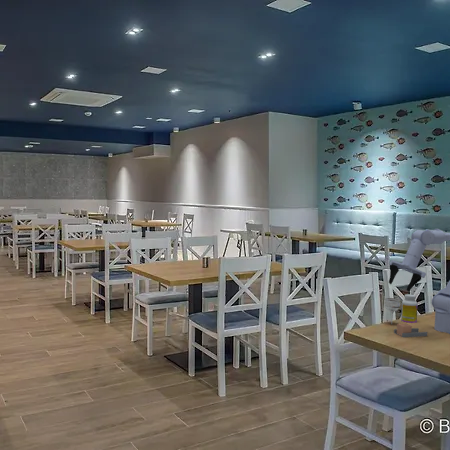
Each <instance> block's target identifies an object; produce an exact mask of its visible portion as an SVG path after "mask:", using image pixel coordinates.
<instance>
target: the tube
mask: <svg viewBox="0 0 450 450" xmlns="http://www.w3.org/2000/svg"><path fill="white" fill-rule="evenodd" d="M419 330H420V328H418V327H417V328H415V327H413V328H412V329H411V333H402V336H401V335H399V334H397V328H394V329H393V334H395V335H398V336H400V337H401V338H415V337H416V338H417V337H428V331H422V332H421V331H419Z"/></svg>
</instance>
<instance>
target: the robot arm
mask: <svg viewBox="0 0 450 450" xmlns="http://www.w3.org/2000/svg"><path fill="white" fill-rule="evenodd" d="M410 238H411V239H410V245H409V247H408V249H407V251H406V253H405V255H404V258H403V260H402V262H399V261H396V260H392V259H391V260H390V262H389V267H390V269H389V271H390V273H389V278H388V279H389V280H388V284H389V285H392V283H393V282H394V279H395V278H396V276H397V274H398V272H399V270H402V271H405V272H408V273H410V274H412V277H411V279H410V281H409V283H408V285H407V288H406V291H407V292H410V291H411V289H413V288H414V287H415V285H417V283H420V281H422V279H424V278H425V277H426V275H427V273H426V272H425V271H422V270H419V269H417V267H418V265H419V263H420V260H421V258H422V256H423V254H424V251H425V250H426V247H427V246H430V245H440V244H443V243H444V242H445V241H446V242H447V241H448V242H449V241H450V232H444V230H442V229H440V228H434V229H430V228H428V229H427V228H426V229H425V230H424V229H423V230H422V229H416V230H415V231H414V232H413V233H411V235H410ZM431 305H432V307H433V308H434V309H433V310H434V311H435V312H434V313H435V315H434V330H435V331H438V332H440V333H446V334H449V335H450V280H449V281H448V283H447V284H446V286H445V287H443V288H442V289H439V290H438V291H437V293H436V294H435V295H433V297H432V298H431Z"/></svg>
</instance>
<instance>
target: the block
mask: <svg viewBox="0 0 450 450" xmlns="http://www.w3.org/2000/svg"><path fill="white" fill-rule="evenodd" d="M412 327H413V326H412V325H410V324H409V323H408V324H407V323H397V324H396V329H397V334H399V335H401V336H402V333H411V329H412ZM397 334H396V335H397ZM399 335H398V336H399ZM401 336H400V337H401Z"/></svg>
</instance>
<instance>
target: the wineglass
mask: <svg viewBox="0 0 450 450" xmlns="http://www.w3.org/2000/svg"><path fill="white" fill-rule="evenodd" d="M384 300H385V301H384V307H385V309H386V310H387V311H389V312H390V316H391V317H390V325H393V317H394V313H395V312H397V311H398V310H400V309H401V307H402V303H401V302H402V301H401V299H399V298H396V297H386V298H384Z"/></svg>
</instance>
